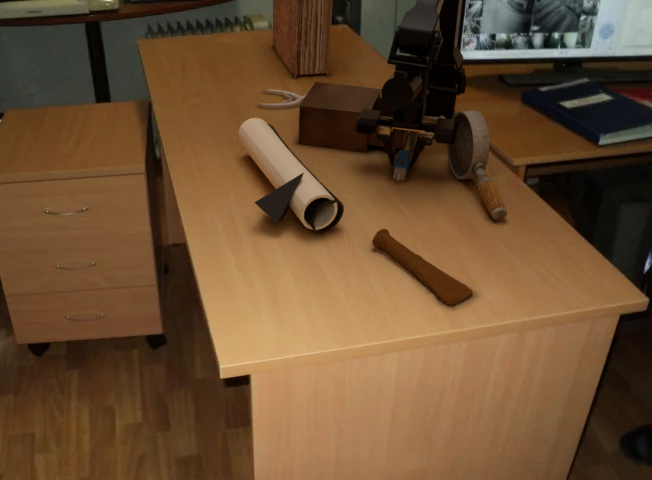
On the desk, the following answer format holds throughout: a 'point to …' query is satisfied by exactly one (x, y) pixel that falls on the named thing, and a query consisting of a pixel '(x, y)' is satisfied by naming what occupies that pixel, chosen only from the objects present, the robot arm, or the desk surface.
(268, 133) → the diploma
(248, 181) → the desk surface
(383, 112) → the drawer
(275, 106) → the pliers
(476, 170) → the magnifying glass
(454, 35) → the robot arm
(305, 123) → the cabinet
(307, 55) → the book
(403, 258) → the primitive tool
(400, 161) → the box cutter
